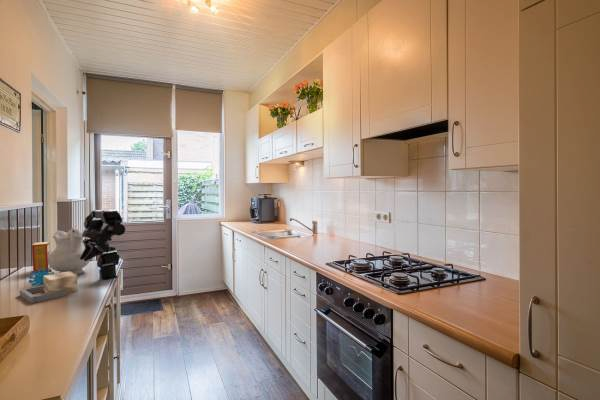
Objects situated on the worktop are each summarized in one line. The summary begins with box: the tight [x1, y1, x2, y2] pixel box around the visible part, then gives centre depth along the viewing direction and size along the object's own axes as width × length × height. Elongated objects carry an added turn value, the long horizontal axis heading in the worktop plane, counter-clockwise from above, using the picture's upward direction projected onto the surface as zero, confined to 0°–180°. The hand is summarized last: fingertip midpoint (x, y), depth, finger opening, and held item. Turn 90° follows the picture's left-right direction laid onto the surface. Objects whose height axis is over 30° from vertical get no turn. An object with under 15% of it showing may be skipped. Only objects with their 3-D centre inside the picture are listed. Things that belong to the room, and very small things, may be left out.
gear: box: [28, 268, 55, 287], centre depth 157 cm, size 11×6×10 cm
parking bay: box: [18, 284, 68, 304], centre depth 140 cm, size 12×18×2 cm
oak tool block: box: [42, 271, 79, 294], centre depth 145 cm, size 10×11×8 cm
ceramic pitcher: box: [48, 228, 91, 276], centre depth 176 cm, size 22×20×25 cm
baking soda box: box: [31, 241, 52, 274], centre depth 184 cm, size 10×6×16 cm
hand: (82, 260), depth 152 cm, fingers open, 4 cm apart
